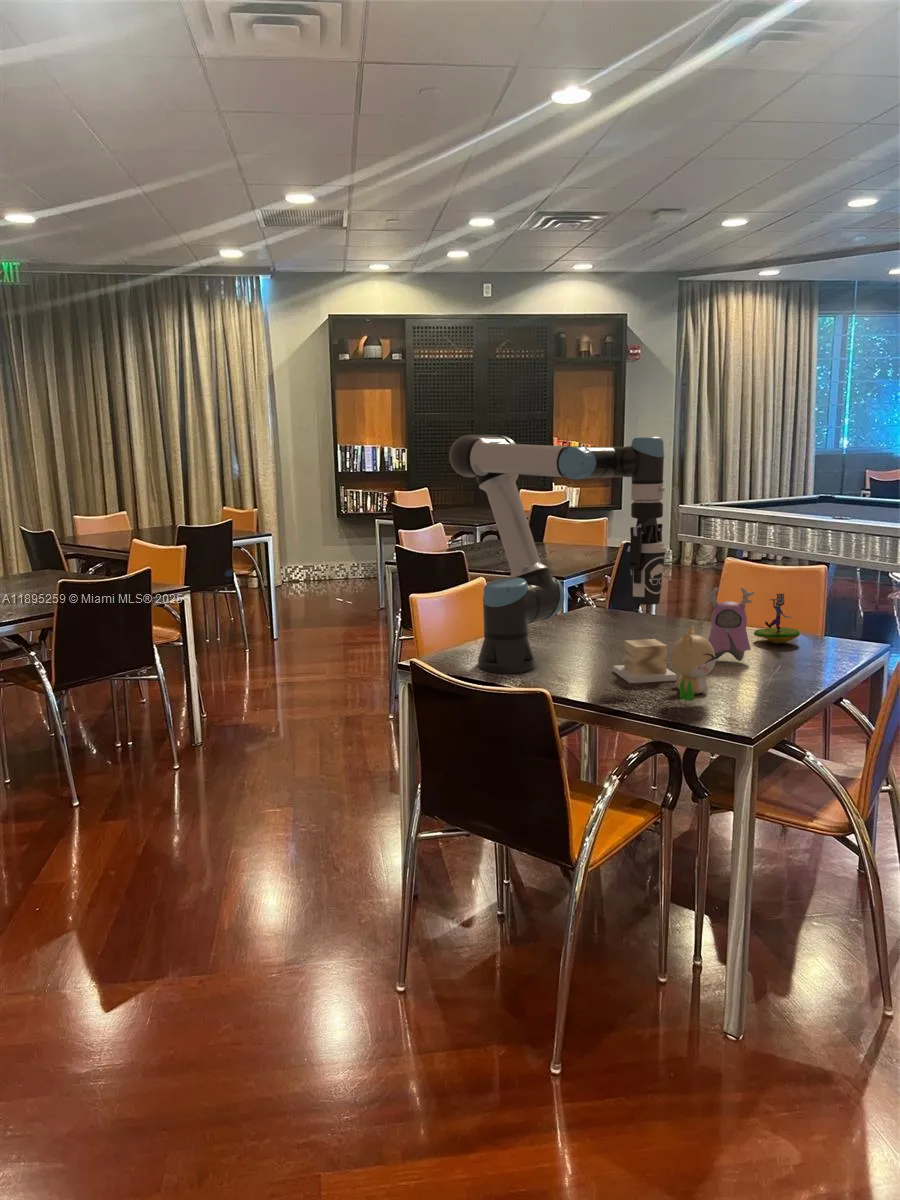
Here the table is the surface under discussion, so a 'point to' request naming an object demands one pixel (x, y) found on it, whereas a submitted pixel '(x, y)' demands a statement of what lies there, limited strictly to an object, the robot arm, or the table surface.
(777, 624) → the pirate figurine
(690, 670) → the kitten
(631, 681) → the grey tile
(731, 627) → the toy character
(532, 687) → the table surface
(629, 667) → the maple brick
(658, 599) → the coffee cup
